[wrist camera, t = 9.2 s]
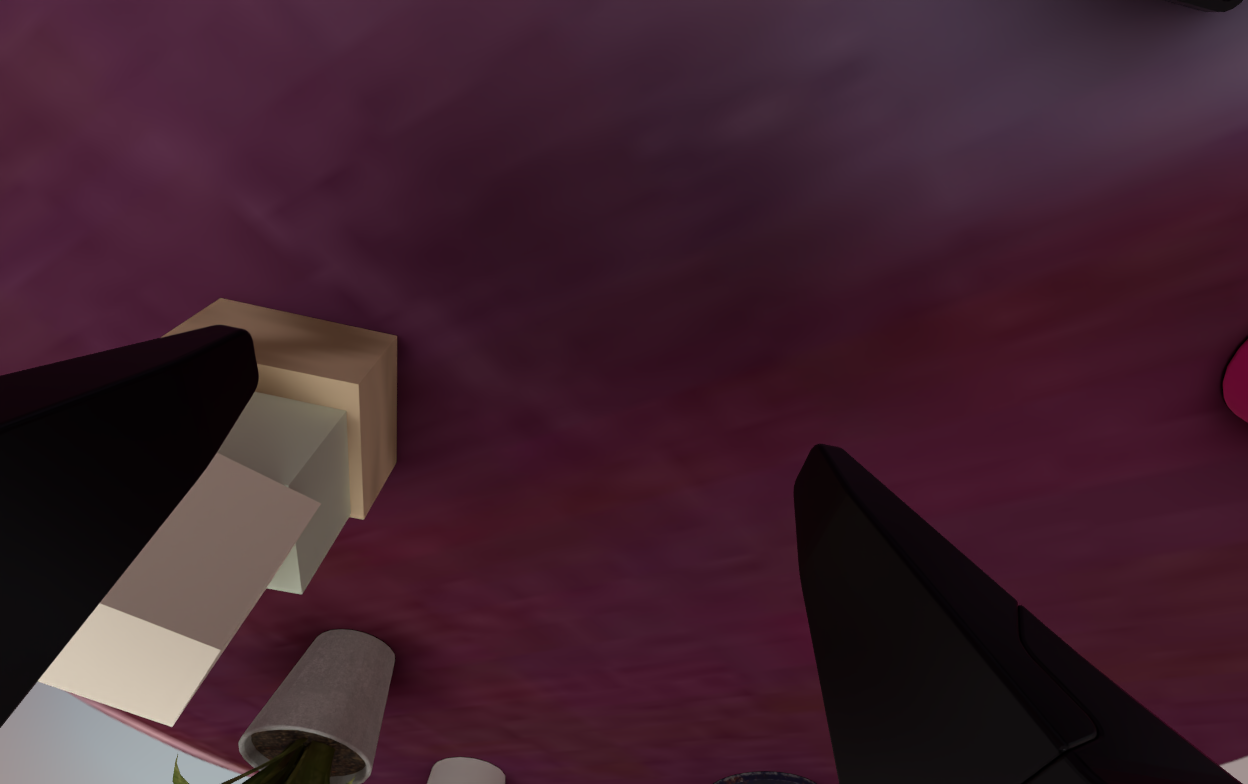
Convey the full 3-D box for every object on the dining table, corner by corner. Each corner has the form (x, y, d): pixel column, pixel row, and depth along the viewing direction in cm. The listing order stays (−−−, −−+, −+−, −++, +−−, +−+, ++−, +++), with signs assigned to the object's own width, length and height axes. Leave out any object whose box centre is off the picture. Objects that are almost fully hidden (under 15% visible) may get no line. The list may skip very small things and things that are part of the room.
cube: (321, 503, 18) (220, 650, 14) (270, 581, 21) (171, 727, 16) (156, 423, 17) (-11, 560, 12) (122, 516, 19) (-28, 659, 15)
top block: (346, 410, 21) (288, 485, 18) (350, 514, 24) (301, 594, 21) (191, 378, 21) (101, 448, 17) (214, 487, 24) (143, 565, 20)
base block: (400, 332, 24) (358, 384, 20) (398, 458, 28) (363, 519, 24) (225, 294, 23) (153, 342, 20) (248, 429, 27) (191, 487, 24)
